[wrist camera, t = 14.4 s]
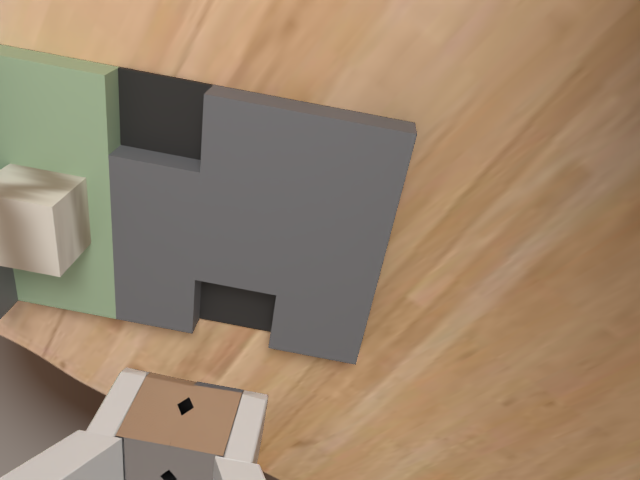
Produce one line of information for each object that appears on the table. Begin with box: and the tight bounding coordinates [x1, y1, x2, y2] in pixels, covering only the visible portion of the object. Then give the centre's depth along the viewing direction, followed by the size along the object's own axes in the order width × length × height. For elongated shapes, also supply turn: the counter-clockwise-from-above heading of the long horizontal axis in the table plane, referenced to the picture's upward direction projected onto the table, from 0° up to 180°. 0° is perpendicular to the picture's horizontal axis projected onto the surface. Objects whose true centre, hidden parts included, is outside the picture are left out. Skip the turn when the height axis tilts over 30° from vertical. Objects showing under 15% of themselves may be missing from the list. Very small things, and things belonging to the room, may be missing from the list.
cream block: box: [0, 164, 91, 277], centre depth 41 cm, size 6×6×5 cm
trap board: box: [0, 44, 417, 364], centre depth 42 cm, size 32×22×6 cm
